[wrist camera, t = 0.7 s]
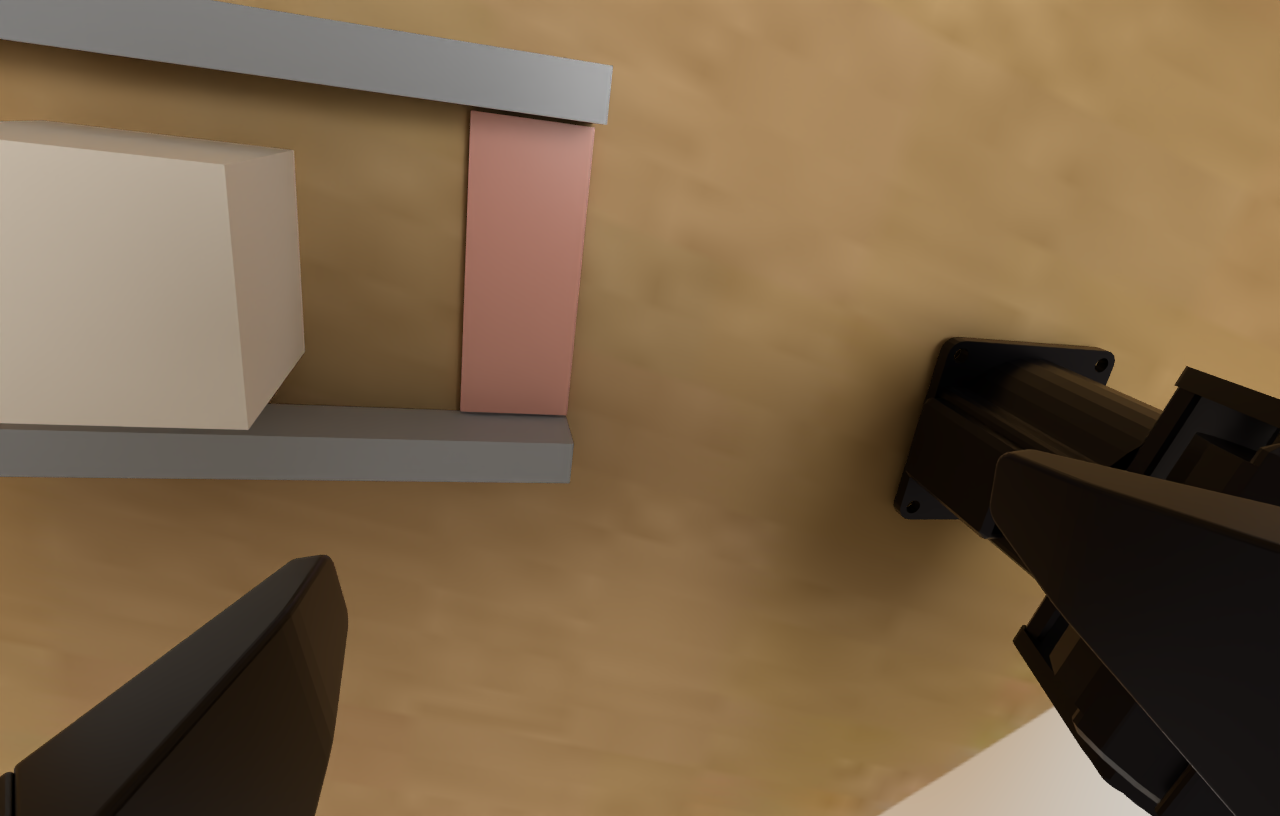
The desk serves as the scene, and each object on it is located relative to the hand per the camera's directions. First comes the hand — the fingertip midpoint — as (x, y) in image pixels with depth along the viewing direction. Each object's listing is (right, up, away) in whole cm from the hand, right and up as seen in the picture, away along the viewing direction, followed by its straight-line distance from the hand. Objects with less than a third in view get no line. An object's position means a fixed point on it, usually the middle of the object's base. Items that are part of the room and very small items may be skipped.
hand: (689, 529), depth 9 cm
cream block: (-12, +6, +7) cm, 15 cm away
